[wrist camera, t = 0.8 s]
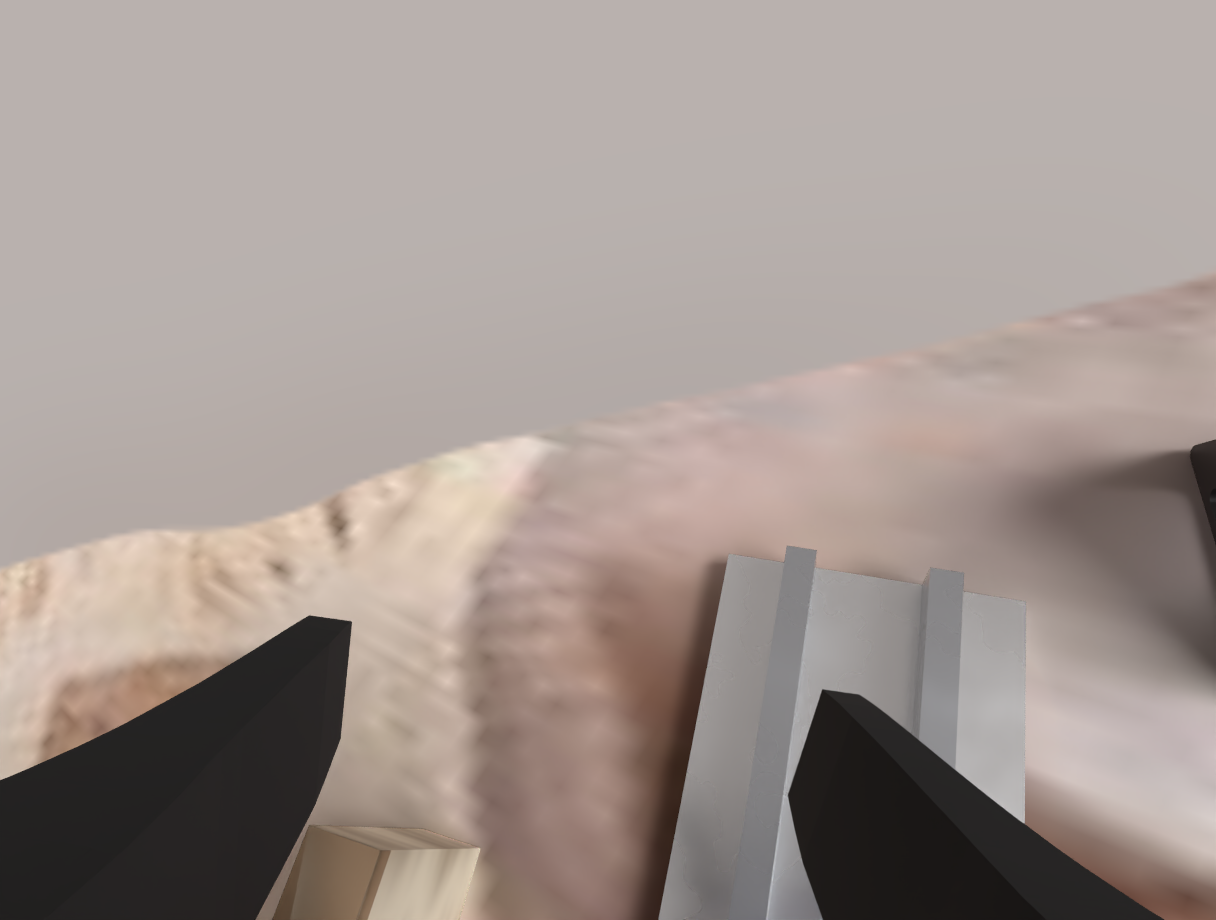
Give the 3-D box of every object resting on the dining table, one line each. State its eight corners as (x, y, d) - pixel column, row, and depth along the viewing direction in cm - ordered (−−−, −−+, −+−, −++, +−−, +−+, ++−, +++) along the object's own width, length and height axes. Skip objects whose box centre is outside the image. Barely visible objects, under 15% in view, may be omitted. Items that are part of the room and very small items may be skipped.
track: (1009, 1449, 16) (1045, 1555, 14) (602, 1241, 19) (574, 1297, 17) (1017, 609, 24) (1041, 584, 22) (731, 562, 28) (724, 536, 25)
